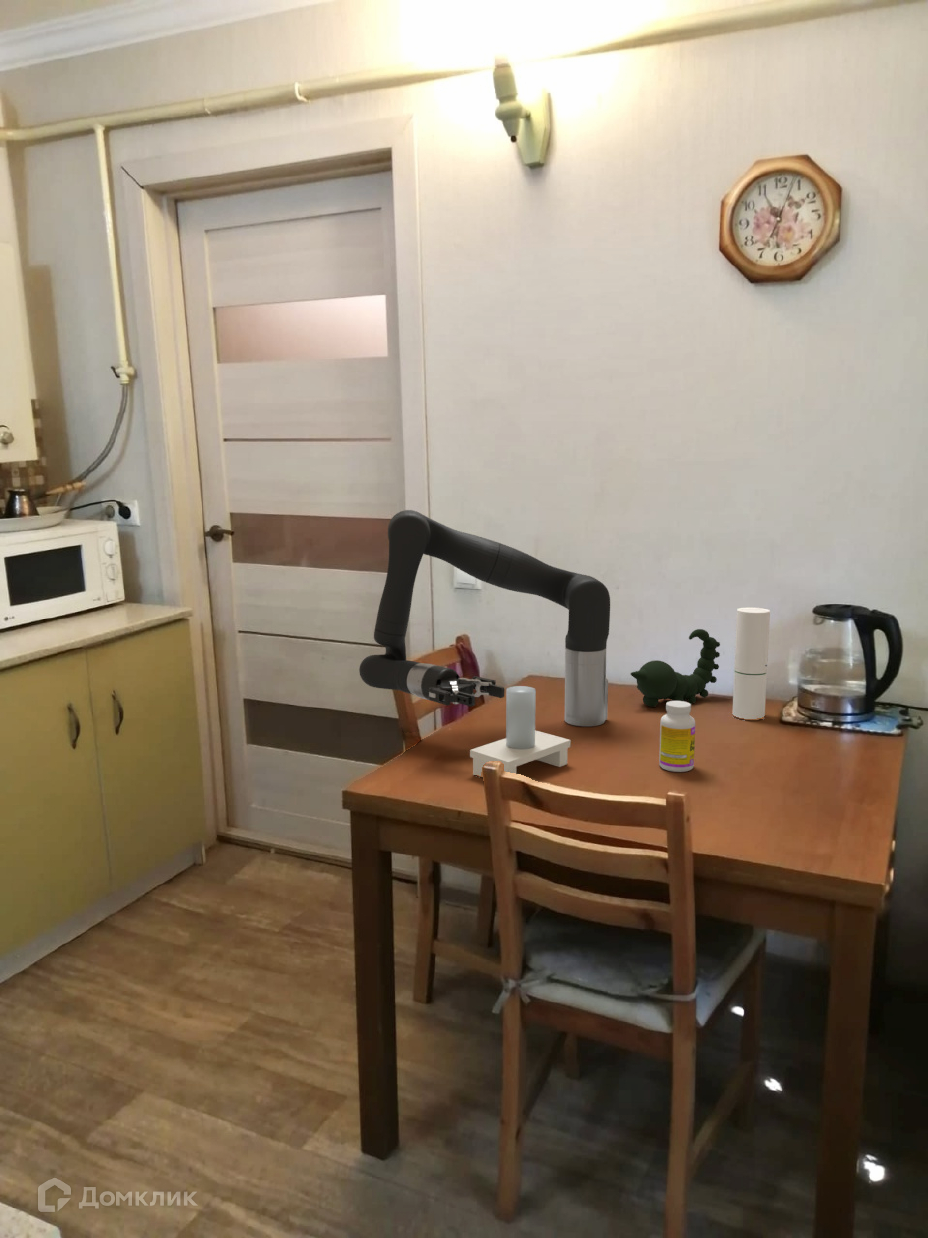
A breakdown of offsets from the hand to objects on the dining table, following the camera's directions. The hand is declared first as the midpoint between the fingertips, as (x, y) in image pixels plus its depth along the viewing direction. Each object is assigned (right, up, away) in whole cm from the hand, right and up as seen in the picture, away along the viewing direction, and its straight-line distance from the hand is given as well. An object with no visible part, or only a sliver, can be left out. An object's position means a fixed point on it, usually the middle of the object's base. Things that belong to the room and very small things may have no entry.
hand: (488, 696), depth 184 cm
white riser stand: (+6, -14, -4) cm, 16 cm away
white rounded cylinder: (+6, -9, -4) cm, 12 cm away
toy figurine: (+46, -5, +42) cm, 63 cm away
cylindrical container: (+61, -7, +30) cm, 68 cm away
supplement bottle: (+37, -14, -3) cm, 39 cm away
